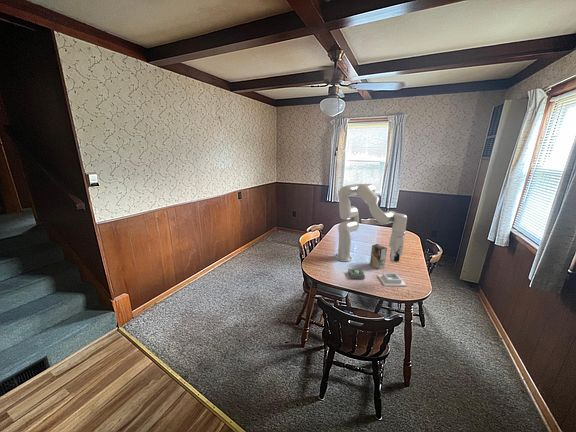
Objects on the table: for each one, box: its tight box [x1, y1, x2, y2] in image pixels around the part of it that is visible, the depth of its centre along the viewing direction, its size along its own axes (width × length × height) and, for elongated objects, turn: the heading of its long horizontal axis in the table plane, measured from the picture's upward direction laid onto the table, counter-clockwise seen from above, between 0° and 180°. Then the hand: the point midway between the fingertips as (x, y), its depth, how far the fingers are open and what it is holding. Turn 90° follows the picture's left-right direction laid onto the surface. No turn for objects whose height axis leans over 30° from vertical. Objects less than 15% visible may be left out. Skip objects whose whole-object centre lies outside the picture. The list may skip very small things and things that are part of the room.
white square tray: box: [377, 272, 407, 287], centre depth 152 cm, size 12×14×4 cm
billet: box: [389, 248, 399, 264], centre depth 148 cm, size 5×5×8 cm
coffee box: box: [369, 243, 388, 270], centre depth 171 cm, size 9×6×16 cm
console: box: [347, 268, 366, 280], centre depth 159 cm, size 9×9×3 cm
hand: (394, 259), depth 148 cm, fingers closed on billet, 5 cm apart
